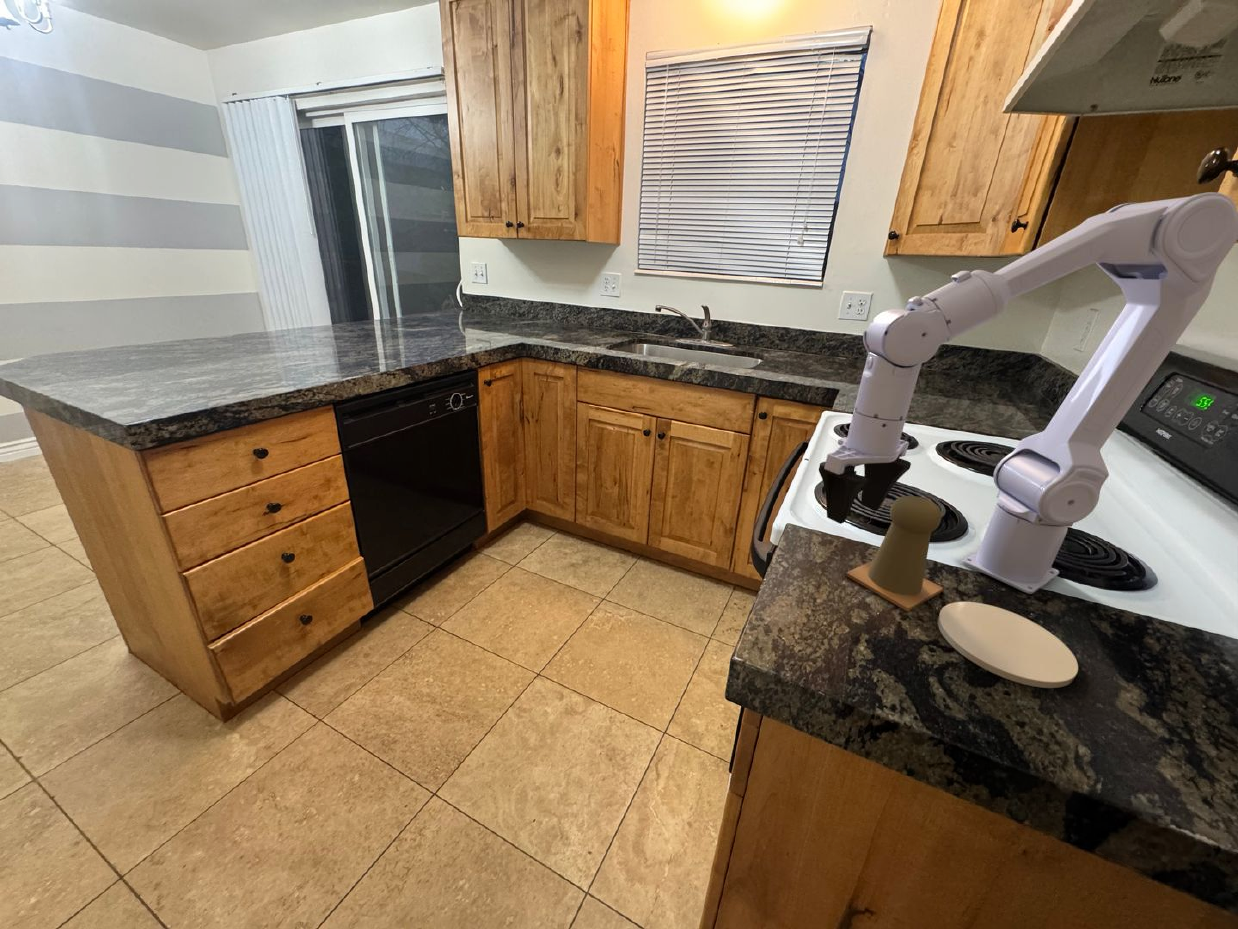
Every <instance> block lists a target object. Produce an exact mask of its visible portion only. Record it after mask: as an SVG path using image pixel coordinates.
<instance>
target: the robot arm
mask: <svg viewBox="0 0 1238 929" xmlns="http://www.w3.org/2000/svg"><path fill="white" fill-rule="evenodd" d="M1237 241H1238V209H1237V206H1236V203H1235V202H1234V201H1233V200H1232V198H1230V197H1229V196H1228V195H1226V194H1224V193H1220V192H1216V191H1215V192H1214V191H1213V192H1212V191H1210V192H1209V191H1208V192H1203V193H1197V194H1193V195H1191V196H1184V197H1176V198H1168V199H1162V200H1161V199H1160V200H1154V201H1152V200H1151V201H1145V202H1126V203H1125V202H1124V203H1121V204H1118V205H1115V206H1114V207H1112V208H1110V209H1108V210H1107V211H1105V212H1103V213H1099V214H1096V215H1093V216H1091V217H1088V218H1086V219H1085V220H1084V221H1083V222H1081V223H1080V224H1079V225H1077V226H1075V227H1074V228H1072V229H1070V230H1068V231H1066V232H1065V233H1063V234H1061V235H1059V236H1057V237H1055V238H1054V239H1052V240H1051V241H1049V242H1047V243H1045V244H1043V245H1042V246H1040V247H1038V248H1036V249H1034V250H1032V251H1031V252H1029V253H1027V254H1025V255H1024V256H1022V257H1019V258H1018V259H1016V260H1015V261H1013V262H1011V263H1009V264H1007V265H1005V266H1004V267H1002V268H1000V269H997V271H995V272H990V271H986V270H984V269H974V270H973V271H970V270H961V271H958V272H956V273H955V274H953V275H951V276H950V279H951V282H949V283H947V284H945V285H943V286H942V287H939V288H938V289H935V290H933V291H932V292H929V293H928V294H926V295H923V296H919V295H915V296H912V297H911V298H909V299H908V300H907V305H906V307H905V309H902V308H891V309H887V310H885V311H883V312H881V313H880V314H878V315H877V316H875V318H873V322H871V323H870V324H869V326H868V328H867V329H866V330H864V331H863V333H862V341H863V342H862V343H863V345H864V348H865V350H866V352H867V356H866V360H865V365H864V369H863V372H862V375H861V380H860V382H859V388H858V391H857V396H856V401H855V403H854V408H853V413H852V417H851V420H850V425H849V429H848V433H847V437H841V438H838V440H837V445H839V446H838V447H837V448H836V449H835V450H834V451H833V452H830V453H827V456H826V460H825V461H822V462H820V463H819V467H818V473H819V475H820V478H821V480H822V483H823V487H824V493H825V504H826V505H825V506H826V518H828V519H829V520H831V521H833V522H835V523H837V524H841V525H842V524H844V523H845V522H846V520H847V518H848V516H849V514H850V512H851V509H852V507H853V503H854V502H855V499H856V498H857V496H858V494H859V492H860V491H861V490H862V491H861V496H860V497H861V499H860V500H861V502H860V504H861V506H863V507H865V508H868V509H869V510H872V511H874V512H877V511H879V509H880V508H881V507H882V505H883V504H884V502H885V500H886V499H887V497H888V495H889V493H890V492H891V490H892V489H893V487H894V486H895V485H896V483H897V482H898V481H899V480H900V479H901V478H902V477H903V476H904V475H905V474H906V473H907V472H908V471H909V470H910V469H911V465H912V463H911V462H910V461H909V460H906V459H903V458H902V457H906V455H907V452H908V448H909V445H910V442H909V441H906V440H903V439H901V437H902V434H903V431H904V427H905V424H906V420H907V416H908V413H909V409H910V406H911V404H912V403H911V402H912V399H913V395H914V392H915V389H916V385H917V382H918V377H919V375H920V371H921V368H922V364H923V363H926V362H928V361H930V360H931V359H932V358H933V357H934V355H935V354H936V353H937V352H938V350H939V348H940V347H941V345H944V344H946V343H948V342H950V341H952V340H954V339H956V338H958V337H960V336H962V335H964V334H967V333H969V332H970V331H973V330H975V329H977V328H979V327H981V326H983V325H985V324H987V323H989V322H992V321H993V320H996V319H998V318H1000V317H1001V316H1002V315H1003V313H1004V311H1005V309H1006V307H1007V304H1008V302H1009V301H1010V300H1012V299H1015V298H1016V297H1018V296H1021V295H1024V294H1025V293H1028V292H1030V291H1033V290H1035V289H1037V288H1039V287H1042V286H1044V285H1046V284H1048V283H1052V282H1053V281H1055V280H1058V279H1060V278H1062V277H1064V276H1067V275H1069V274H1071V273H1074V272H1076V271H1078V270H1081V269H1083V268H1086V267H1087V266H1090V265H1092V264H1096V265H1097V266H1098V267H1099V268H1100V269H1101V270H1102V271H1103V272H1104V273H1105V274H1106V275H1107V276H1108V277H1109V278H1110V279H1112V280H1113V282H1115V283H1116V285H1118V286H1119V287H1120V289H1121V291H1122V293H1123V295H1124V298H1125V300H1126V304H1125V306H1124V308H1123V309H1122V311H1121V312H1120V314H1119V315H1118V317H1117V318H1116V319H1115V321H1114V323H1113V324H1112V325H1111V328H1110V329H1109V331H1108V332H1107V334H1106V335H1105V337H1104V338H1103V339H1102V341H1101V343H1100V345H1099V346H1098V348H1097V349H1096V350H1095V352H1094V353H1093V355H1092V357H1091V358H1090V360H1089V362H1088V363H1087V365H1085V367H1084V369H1083V371H1082V372H1081V374H1080V375H1079V377H1078V378H1077V380H1076V381H1075V383H1074V384H1073V386H1072V387H1071V389H1070V390H1069V392H1068V394H1067V395H1066V397H1065V398H1064V400H1063V401H1062V403H1061V405H1060V406H1059V408H1058V409H1057V411H1056V412H1055V414H1054V415H1053V417H1052V418H1051V419H1050V422H1049V423H1048V424H1047V426H1046V428H1045V429H1044V430H1043V431H1041V432H1037V433H1034V434H1032V435H1029V436H1027V437H1024V438H1022V439H1020V442H1019V443H1018V444H1017V446H1016V448H1014V450H1013V451H1012V452H1010V453H1009V454H1007V455H1006V456H1004V457H1003V458H1002V459H1001V460H1000V461H999V462H998V463H997V465H996V466H995V468H994V471H993V477H992V478H993V483H994V485H995V486H996V488H997V489H998V492H997V494H996V498H997V502H996V505H995V508H994V510H993V513H992V515H991V518H990V520H989V524H988V526H987V528H986V531H985V534H984V536H983V538H982V541H981V544H980V545H979V549H978V551H976V552H974V553H973V554H971V555H969V556H967V557H965V558H964V559H962V564H964V565H966V566H967V567H969V568H972V569H973V570H976V571H978V572H980V573H981V574H982V573H983V574H984V575H987V576H988V577H991V578H993V579H995V580H998V581H1000V582H1002V583H1004V584H1006V585H1008V586H1010V587H1012V588H1014V589H1017V590H1019V591H1021V592H1023V593H1025V594H1027V595H1032V594H1034V593H1036V592H1037V591H1038V590H1039V589H1041V588H1042V587H1044V586H1045V585H1046V584H1048V583H1049V582H1050V581H1052V580H1053V579H1054V578H1056V577H1058V575H1060V570H1058V569H1056V568H1053V564H1054V561H1055V559H1056V557H1057V555H1058V554H1059V551H1060V549H1061V547H1062V544H1063V542H1064V540H1065V538H1066V535H1067V533H1068V529H1069V528H1071V527H1072V526H1073V525H1074V524H1075V523H1077V522H1080V521H1081V520H1083V519H1085V518H1086V517H1088V516H1089V515H1090V514H1091V513H1092V512H1093V511H1094V510H1095V509H1096V507H1097V505H1098V503H1099V500H1100V494H1101V490H1102V487H1103V485H1104V484H1105V482H1106V480H1108V478H1109V476H1110V474H1109V470H1108V467H1107V466H1106V463H1105V460H1104V458H1103V455H1102V452H1101V449H1102V448H1103V447H1104V445H1105V444H1106V442H1107V441H1108V439H1110V437H1111V435H1112V434H1113V433H1114V431H1115V429H1117V427H1118V425H1119V424H1120V423H1121V421H1122V420H1123V419H1124V418H1125V415H1126V414H1127V413H1128V411H1129V410H1130V409H1131V407H1132V405H1133V404H1134V402H1136V400H1137V399H1138V397H1139V396H1140V394H1142V391H1143V390H1144V389H1145V387H1146V386H1147V384H1148V383H1149V382H1150V380H1151V379H1152V377H1153V376H1154V374H1155V373H1156V371H1158V369H1159V368H1160V366H1161V365H1162V363H1163V362H1164V360H1165V359H1166V357H1167V356H1168V355H1169V354H1170V352H1171V350H1172V349H1173V348H1174V346H1175V345H1176V344H1177V342H1178V341H1179V339H1180V338H1181V336H1182V335H1183V334H1184V333H1185V331H1186V329H1187V328H1188V326H1189V325H1190V323H1191V322H1192V321H1193V319H1194V318H1195V317H1196V315H1197V314H1198V312H1199V311H1200V310H1201V309H1202V307H1203V305H1204V304H1205V302H1206V301H1207V299H1208V297H1209V296H1210V293H1211V290H1212V287H1213V283H1214V281H1215V278H1216V274H1217V271H1218V269H1219V267H1220V266H1221V264H1222V263H1223V261H1224V260H1225V259H1226V257H1227V255H1228V254H1229V253H1230V251H1231V250H1232V248H1233V247H1234V246H1235V244H1236V243H1237ZM862 465H863V469H864V470H863V471H864V472H863V474H864V476H863V475H860V474H857V470H855V469H856V467H860V466H862ZM1068 527H1069V528H1068Z"/></svg>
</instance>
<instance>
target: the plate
mask: <svg viewBox="0 0 1238 929" xmlns="http://www.w3.org/2000/svg"><path fill="white" fill-rule="evenodd" d="M937 626H938V630H939V631H940V634H941V635H942V636H943V638H944V639H945V640H946V642H947V643H948V644H949V645H950V646H951V647H952V648H953V649H954V650H955V651H957V652H958V653H959V654H960V655H962V656H963V657H965V658H966V659H967V660H969V661H970V662H972V663H973V664H975V665H977V666H979V667H981V668H982V669H984V670H986V671H988V672H990V673H991V674H994V675H995V676H998V677H1001V678H1003V679H1006V680H1009V681H1011V682H1015V683H1018V684H1021V685H1024V686H1028V687H1029V686H1030V687H1033V688H1042V689H1058V688H1063V687H1066V686H1068V685H1070V684H1072V683H1073V682H1074V680H1075V679H1076V677H1077V675H1078V673H1079V664H1078V660H1077V658H1076V656H1075V655H1074V653H1073V652H1072V651H1071V649H1070V648H1069V647H1068V646H1067V645H1066V644H1065V643H1064V642H1063V641H1062V640H1060V639H1059V638H1058V637H1057V636H1056V635H1054V634H1052V632H1050V631H1048V630H1047V629H1045V628H1044V627H1042V626H1041V625H1039V624H1037V623H1036V622H1034V621H1032V620H1030V619H1028V618H1026V617H1024V616H1022V615H1020V614H1017V613H1014V612H1012V611H1010V610H1008V609H1005V608H1001V607H998V606H994V605H990V604H986V603H982V602H975V601H955V602H951V603H948V604H946V605H944V606H943V607H942V608H941V609H940V610H939V614H938V616H937Z"/></svg>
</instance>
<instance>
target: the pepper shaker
mask: <svg viewBox="0 0 1238 929" xmlns="http://www.w3.org/2000/svg"><path fill="white" fill-rule="evenodd" d="M889 517H890V518H891V524H890V525H889V527H888V529H887V531H886V534H885V535H884V538H883V539H882V542H881V543H880V545H879V548H878V550H877V552H876V554H875V555H874V558H873V560H872V561H873V562H872V564H871V567H870V569H869V571H868V576H869V577H870V579H871V580H872V581H873V582H874V583H875V584H877V585H878V586H880V587H882V588H883V589H885V590H888V591H890V592H893V593H897V594H901V595H915V594H918V593H919V592H921V589H922V584H923V578H925V571H926V566H927V559H928V553H929V547H930V541H931V535H932V532H934V531H936V530H937V529H938V527H939V526H940V524H941V521H942V518H943V517H942V511H941V509H940V507H939V506H938V505H937V504H936V503H935V502H933V501H931V500H929V499H926V498H925V497H920V496H917V495H916V496H915V495H903V496H899V497H898V498H896V499H895V500H894V501H893V502H892V504H891V506H890V510H889Z"/></svg>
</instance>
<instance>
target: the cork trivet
mask: <svg viewBox="0 0 1238 929" xmlns="http://www.w3.org/2000/svg"><path fill="white" fill-rule="evenodd" d="M872 562H873V560H871V561H869V562H866V563H864V564H862V565H860V566H857V567H855V568H853V569H851V570H849V571H847V572H846V573H845V577H847V578H849V579H850V580H852V581H854V582H855V583H857V584H859V585H861V586H863V587H864V588H866V589H868V590H870V591H871V592H873V593H874V594H877V595H878V596H880V597H881V598H883V599H884V600H886V601H888V602H889V603H891V604H893V605H895V606H897V607H898V608H900V609H901V610H904V611H905V612H910V611H911V610H913V609H915V608H916V607H918V606H920V605H922V604H924V603H925V602H927V601H929V600H930V599H933V597H935V596H937V595H939V594H940V593H942V592H943V591H944V587H942V586H940V585H938V584H936V583H934V582H932V581H930V580H929V579H927V578H925V577H924V578H923V584H922V589H921V592H919V593H918V594H915V595H901V594H897V593H893V592H890V591H888V590H885V589H883V588H882V587H880V586H878V585H877V584H875V583H874V582H873V581H872V580H871V579H870V577H869V576H868V571H869V569H870V567H871V564H872Z"/></svg>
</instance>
